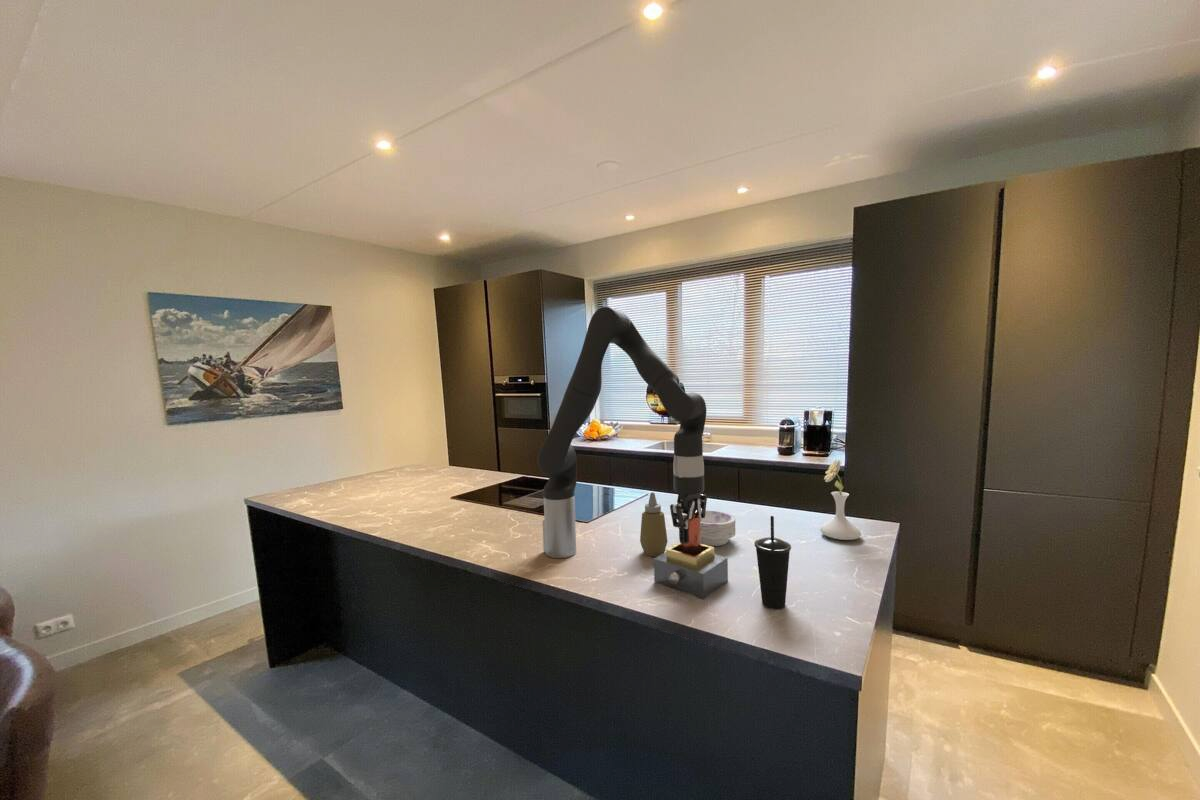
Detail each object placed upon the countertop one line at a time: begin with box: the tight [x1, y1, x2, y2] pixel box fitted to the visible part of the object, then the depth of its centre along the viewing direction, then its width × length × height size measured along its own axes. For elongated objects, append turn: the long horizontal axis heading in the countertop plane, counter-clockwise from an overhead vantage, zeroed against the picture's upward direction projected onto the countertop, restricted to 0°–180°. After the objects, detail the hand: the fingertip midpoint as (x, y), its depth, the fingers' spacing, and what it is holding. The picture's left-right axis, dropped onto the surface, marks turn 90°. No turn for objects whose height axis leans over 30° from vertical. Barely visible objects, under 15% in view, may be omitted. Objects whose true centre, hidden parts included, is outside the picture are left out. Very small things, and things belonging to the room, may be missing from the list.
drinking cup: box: [753, 515, 792, 610], centre depth 99 cm, size 8×8×20 cm
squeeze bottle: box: [639, 492, 668, 557], centre depth 130 cm, size 8×8×18 cm
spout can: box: [679, 513, 701, 556], centre depth 111 cm, size 5×5×13 cm
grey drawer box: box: [653, 542, 729, 600], centre depth 111 cm, size 14×14×8 cm
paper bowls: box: [700, 509, 736, 547], centre depth 139 cm, size 15×15×8 cm
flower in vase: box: [819, 459, 862, 541], centre depth 138 cm, size 13×11×25 cm
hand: (689, 539), depth 111 cm, fingers closed on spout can, 5 cm apart
